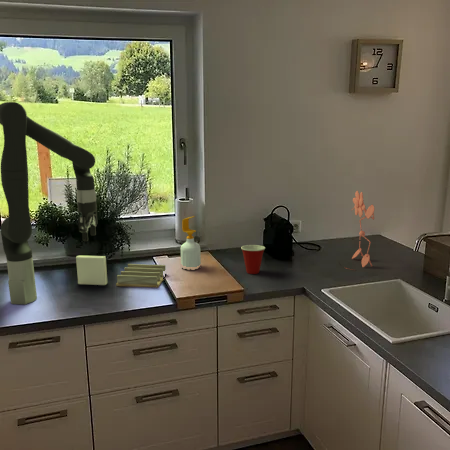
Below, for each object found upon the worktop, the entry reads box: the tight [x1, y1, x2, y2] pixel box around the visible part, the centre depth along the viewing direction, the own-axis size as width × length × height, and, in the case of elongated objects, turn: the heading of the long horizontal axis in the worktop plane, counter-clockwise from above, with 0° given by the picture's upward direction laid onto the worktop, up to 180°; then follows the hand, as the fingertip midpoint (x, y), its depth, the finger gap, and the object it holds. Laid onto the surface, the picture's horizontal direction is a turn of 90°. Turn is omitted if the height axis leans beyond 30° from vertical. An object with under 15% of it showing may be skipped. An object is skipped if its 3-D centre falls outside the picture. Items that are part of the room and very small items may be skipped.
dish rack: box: [115, 263, 166, 289], centre depth 211 cm, size 16×18×4 cm
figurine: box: [345, 190, 375, 271], centre depth 226 cm, size 15×26×35 cm, turn 5°
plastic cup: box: [240, 244, 266, 275], centre depth 219 cm, size 11×11×12 cm
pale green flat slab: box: [75, 255, 108, 286], centre depth 206 cm, size 2×12×12 cm, turn 83°
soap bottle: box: [180, 215, 202, 267], centre depth 223 cm, size 9×9×25 cm
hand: (89, 238), depth 203 cm, fingers open, 8 cm apart
